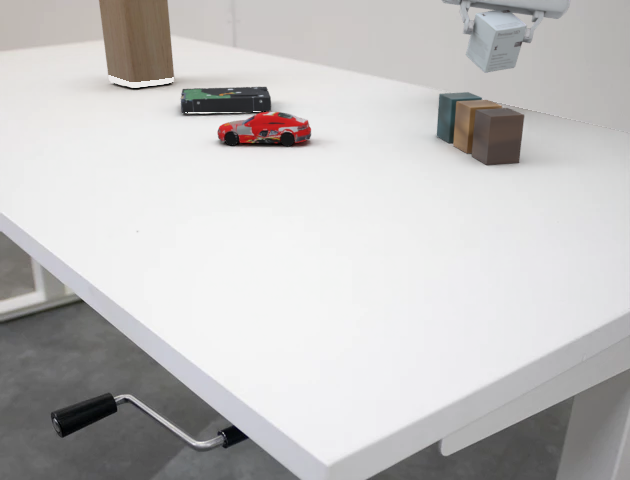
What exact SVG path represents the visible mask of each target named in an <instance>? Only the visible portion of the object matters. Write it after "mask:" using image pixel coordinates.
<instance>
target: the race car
mask: <svg viewBox="0 0 630 480" xmlns="http://www.w3.org/2000/svg"><path fill="white" fill-rule="evenodd" d="M216 134H217V138H218V140H220V142H221V141H222V142H226V144H227V145H228V146H232V147H233V146H236V145H238V144H239V143H240V144H282V145H283V146H285V147H291V146H293V144H294V143H295V144H299V143H303V142H306V141H308V140H310V139H311V137H312V128H311V127H310V122H309V119H308V118H307V119H306V118H302V117H298V116H297V115H294V114H292V113H286V112H280V111H266V112H264V111H263V112H259V113H255V114H254V115H252V116H250V117H248V118H246V119H240V120H233V121H228V122H225V123H222V124H221V125H219V127H218V129H217V133H216Z"/></svg>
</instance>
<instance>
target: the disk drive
mask: <svg viewBox="0 0 630 480" xmlns="http://www.w3.org/2000/svg"><path fill="white" fill-rule="evenodd" d="M180 95H181V96H180V111H181V114H182V113H185V112H187V113H188V112H253V111H263V112H264V111H266V112H272V99H271V98H272V97H271V95H270V92H269V90H268V87H267V86H240V87H239V86H236V87H201V88H200V87H199V88H197V87H194V88H182V89H181V92H180Z"/></svg>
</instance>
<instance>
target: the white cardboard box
mask: <svg viewBox="0 0 630 480" xmlns="http://www.w3.org/2000/svg"><path fill="white" fill-rule="evenodd" d="M473 21H475V23H474V26H473V28H474V29H473V33H472V35H470V36H469V40H468V44H467V48H466V52H465V56H466V57H467V58H468V59H469V60H470V61H471V62H472V63H473V64H474V65H475V66H476V67H477V68H479V70H481V71H482V72H483V73H485V74H487V73H492V72H497V71H498V72H499V71H504V70H509V69H514V68H515V67H516V65H517V62H518V58H519V54H520V52H521V48H522V45H523V43H524V42H523V38H524V35H525V31H526V28H528V25H527V24H526V23H525V22H524V21H523V20H522V19H520V18H519V17H518V16H516V15H515V13H511V12H510V11H509V10H508V9H503V10H488V11H484V12H478V13H477V12H476V13H475V15H474V20H473Z"/></svg>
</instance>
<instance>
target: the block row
mask: <svg viewBox="0 0 630 480" xmlns="http://www.w3.org/2000/svg"><path fill="white" fill-rule="evenodd" d="M437 109H438V110H437V122H436V123H437V124H436V137H437V138H439V139H441V140H442V141H444V142H446V143H447V144H452V146H453V147H455V148H456V149H458V150H460V151H461V152H463V153H466V154H467V155H468V154H471V158H474V159H475V160H477V161H479V162H480V163H482V164H484V165H486V166H490V165H491V166H492V165H506V164H507V165H508V164H518V163H520V158H521V150H522V139H523V130H524V123H525V114H523V113H521V112H519V111H516V110H514V109H511V108H509V107H503V105H501V104H499V103H497V102H494V101H492V100H489V99H483V97H481V96H479V95H476V94H474V93H472V92H469V91H464V92H447V93H446V92H445V93H439V94H438V107H437Z"/></svg>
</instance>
